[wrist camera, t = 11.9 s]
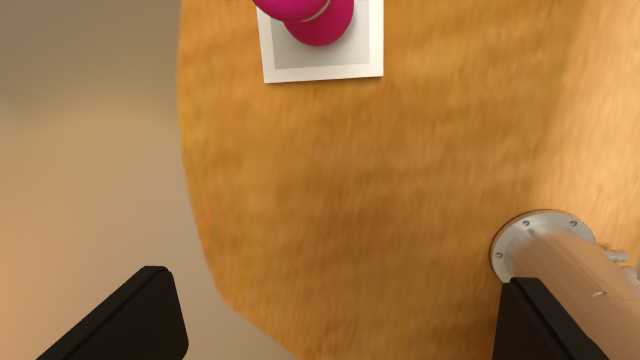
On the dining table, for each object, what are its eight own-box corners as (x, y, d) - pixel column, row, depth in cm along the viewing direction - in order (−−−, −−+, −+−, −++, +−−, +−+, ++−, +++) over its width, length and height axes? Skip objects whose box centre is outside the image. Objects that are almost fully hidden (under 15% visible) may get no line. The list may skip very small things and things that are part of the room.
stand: (381, -60, 35) (383, -72, 32) (381, 75, 39) (383, 75, 36) (258, -45, 37) (249, -55, 34) (271, 82, 41) (264, 83, 38)
